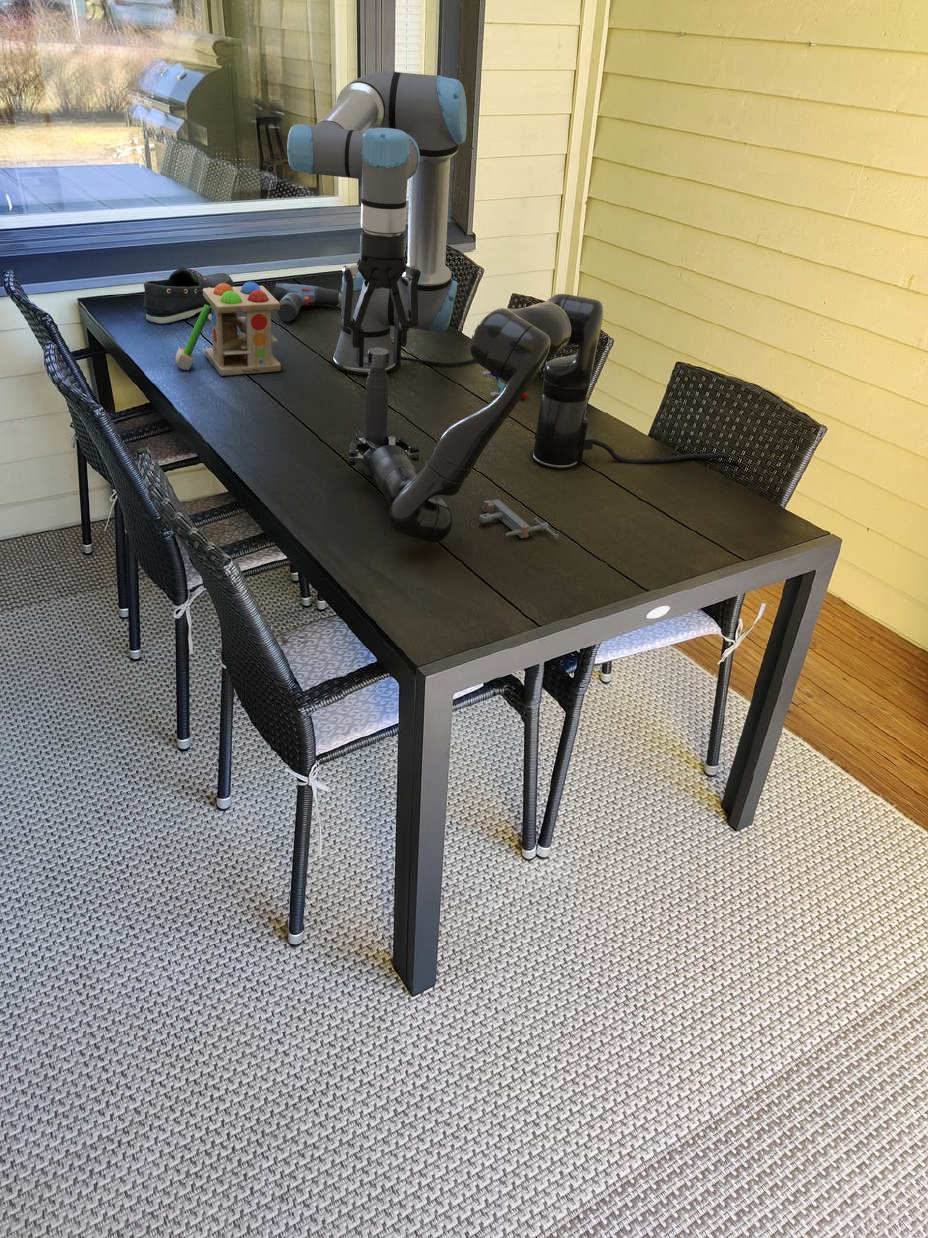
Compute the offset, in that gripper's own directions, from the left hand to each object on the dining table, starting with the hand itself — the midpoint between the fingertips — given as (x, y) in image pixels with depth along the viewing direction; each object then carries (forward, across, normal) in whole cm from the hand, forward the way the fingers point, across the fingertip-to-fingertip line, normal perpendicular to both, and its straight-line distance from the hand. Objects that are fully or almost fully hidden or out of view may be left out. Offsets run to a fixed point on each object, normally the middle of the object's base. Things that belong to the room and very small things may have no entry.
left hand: (378, 363), depth 178 cm
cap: (-2, 0, 0) cm, 2 cm away
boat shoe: (+22, +28, -103) cm, 109 cm away
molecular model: (+22, -38, -34) cm, 55 cm away
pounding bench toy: (+22, +23, -60) cm, 67 cm away
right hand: (+15, 0, -3) cm, 15 cm away
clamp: (+22, -20, +25) cm, 39 cm away
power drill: (+22, -2, -98) cm, 100 cm away
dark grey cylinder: (+22, 0, 0) cm, 22 cm away
